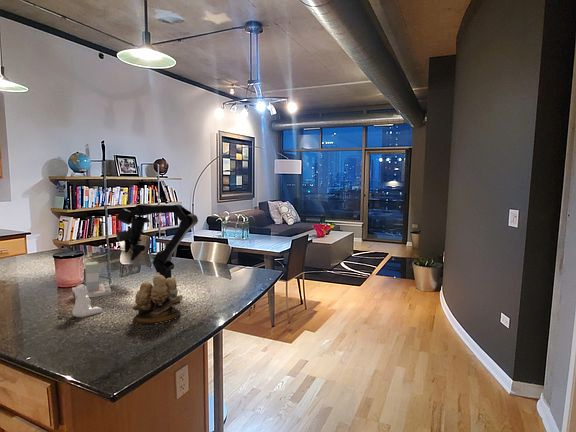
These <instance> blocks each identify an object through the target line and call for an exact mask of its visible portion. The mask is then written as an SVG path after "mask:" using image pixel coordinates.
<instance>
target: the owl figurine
mask: <svg viewBox="0 0 576 432" xmlns="http://www.w3.org/2000/svg"><path fill="white" fill-rule="evenodd" d="M152 283H153V284H152ZM152 283H151V282H148V281H147V282H142V283H141V284H140V286H139V290H137V291H136V294H135V300H134V302H135V304H134V305H133V306H132V307H131V309H132V310H134V311H137V314H135V315H134V316H133V319H132V322H133V323H134V324H136V323H137V324H136V325H138V324H153V325H156V324H155V323H160V322H165V321H169V320H172V319H175V318H177V317H179V318H180V317H181V316H180V315H181V314H182V313H181V311H180V310H179V309H178V308H176V307H175V306H176V305H178V304H180V303H181V301H182V299H183V295H181V294H180V295H178V292H179V289H177V287H178V285H177V280H176V279H175V278H174V277H171V278H167V279H166V278H165V277H164V276H163V275H159V273H158V274H156V275H155V276H154V277H153V278H152ZM177 319H178V318H177ZM175 320H176V319H175Z"/></svg>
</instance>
